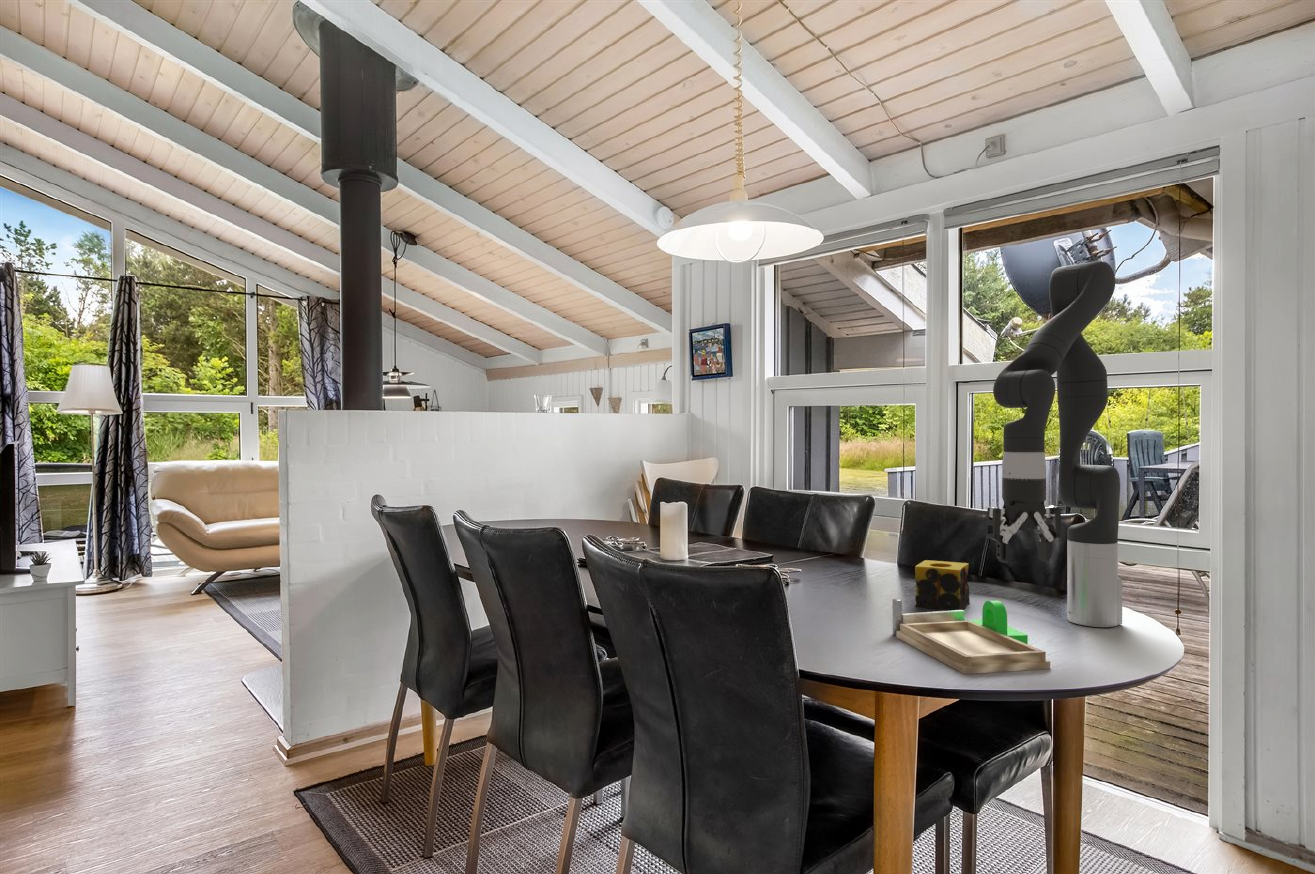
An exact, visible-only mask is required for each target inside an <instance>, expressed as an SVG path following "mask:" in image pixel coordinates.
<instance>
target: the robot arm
mask: <svg viewBox="0 0 1315 874" xmlns="http://www.w3.org/2000/svg"><path fill="white" fill-rule="evenodd" d="M1048 283H1049V284H1048V292H1049V304H1050V312H1051V318H1050V319H1049V320H1048V321H1046V322H1045V323H1044V324H1042V325H1041V326H1040V327H1039V328H1038V329H1037V330H1036V331H1035V332H1034V334H1033V335H1032V336H1031V338H1030V340H1029V341H1028V343H1027V344H1026V346H1025V348H1024V350H1023V352H1022V353H1021V354H1019V355H1018V356H1017V357H1015V358H1014V359H1013V360H1012V362H1010V363H1009V364H1008V365H1007V366H1006V367H1004V369H1003V370H1001V372H999V373H998V376H997V377H996V379H995V380H994V384H993V387H992V393H993V394H992V395H993V399H994V401H995V402H996V403H997V404H998V405H999V406H1001V407H1002V408H1006V409H1021V408H1023V409H1024V408H1026V410H1025V412H1024V415H1022V417H1021V418H1020V419H1019V418H1018V419H1016V420H1011V421H1008V422H1007V423H1006V424H1004V426H1003V434H1002V435H1003V456H1002V462H1001V498H1002V500H1003V505H1002V507H994V506H988V507H987V511H986V512H987V513H986V525H985V526H986V529H985V537H986V538H987V539H990V540H993V541H994V542H995V547H996V548H995V550H996V551H995V555H996V556H995V557H996V559H997V560H998V562H1000V563H1003V564H1008V563H1009V562H1010V543H1009V540H1010V539H1011V538H1012V536H1013V535H1015V534H1016V533H1017V532H1018V531H1025V530H1030V531H1032V532H1034V534H1036V536H1037V537H1038V538H1039V540H1038V544H1037V546H1038V547H1037V549H1038V550H1037V551H1038V552H1037V553H1038V558H1037V559H1038V560H1039V561H1041V562H1050V559H1051V558H1052V542H1053V541H1054V540H1055V539H1060V538H1062V536H1063V533H1062V532H1063V531H1062V516H1061V515H1062V513H1061V511H1062V510H1061V508H1060V507H1059V506H1055V505H1047V506H1045V502H1046V500H1047V460H1046V455H1045V454H1046V452H1045V451H1046V450H1045V449H1046V448H1045V444H1046V443H1045V442H1046V439H1045V431H1046V427H1047V424H1048V423H1047V422H1048V421H1049V416H1050V413H1051V409H1052V405H1053V403H1054V400H1055V395H1057V398H1056V399H1057V408H1058V409H1057V410H1058V421H1059V457H1058V459H1059V462H1058V493H1059V497H1060V501H1061V502H1062V504H1063V505H1064V506H1065V507H1068V508H1075V509H1076V508H1077V509H1090V510H1091V509H1092V510H1097V513H1096V515H1095V517H1093V518H1092V519H1089V520H1088V521H1084V522H1081V523H1076V524H1072V525H1070V526H1068V528H1067V531H1066V532H1067V533H1066V534H1067V540H1066V541H1067V544H1066V546H1067V547H1066V548H1067V549H1066V550H1067V551H1066V553H1067V554H1066V555H1067V560H1066V561H1067V563H1066V564H1067V565H1066V566H1067V567H1066V568H1067V572H1066V573H1067V576H1066V577H1067V582H1066V583H1067V584H1066V585H1067V587H1066V588H1067V602H1066V603H1067V609H1066V611H1067V613H1066V614H1067V621H1069V622H1070V623H1073V624H1076V625H1080V626H1086V627H1094V628H1113V627H1114V628H1115V627H1117V626H1119V625H1123V579H1122V578H1120V577H1119V555H1118V554H1119V543H1118V542H1119V541H1118V540H1119V537H1118V536H1119V516H1120V513H1119V512H1120V510H1119V509H1120V501H1121V499H1120V497H1121V477H1120V473H1119V471H1118V470H1117V469H1116V467H1114V466H1112V465H1101V464H1100V465H1098V464H1081V463H1080V462H1081V461H1080V457H1081V451H1082V447H1083V445H1084V443H1085V441H1086V439H1087V436H1088V435H1089V434H1090V432H1091V430H1092V429H1093V428H1094V426H1095V425H1096V423H1098V420H1099V419H1100V417H1101V416H1102V414H1103V413H1104V411H1105V409H1106V407H1107V405H1108V401H1109V394H1108V393H1109V392H1108V391H1109V389H1108V373H1107V369H1106V366H1105V365H1104V363H1103V362H1102V360H1101V359H1100V357H1099V356H1098V354H1097V353H1096V352H1095V351H1094V350H1093V348H1092V347H1091V345H1089V343H1088V342H1087V340H1086V339H1085V337H1084V336H1083V334H1082V333H1083V332H1084V330H1085V329H1086V328H1087V327H1088V326H1089V324H1091V322H1092V321H1094V320H1095V318H1096V317H1097V315H1099V313H1101V311H1103V309H1104V308H1105V307H1106V306H1107V304H1108V303H1109V302H1110V301H1111V299H1112V298H1113V294H1114V292H1115V289H1116V275H1115V272H1114V269H1113V268H1112V266H1111V264H1109V263H1108V262H1106V261H1103V260H1100V261H1099V260H1096V261H1095V260H1093V261H1089V262H1081V263H1076V264H1069V265H1063V266H1060V267H1056V268H1055V269H1054V270H1053V271H1052V272H1051V274H1050V278H1049V282H1048ZM1055 373H1056V382H1055V380H1054V378H1053V375H1054V374H1055ZM1056 391H1057V392H1056ZM1003 517H1004V519H1003V521H1001V520H1002V518H1003ZM1045 517H1046V522H1045V521H1044V518H1045Z"/></svg>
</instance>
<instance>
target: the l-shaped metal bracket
mask: <svg viewBox="0 0 1315 874" xmlns="http://www.w3.org/2000/svg"><path fill="white" fill-rule="evenodd" d="M965 613H966V611H965V609H964V610H951V611H944V610H938V611H937V610H936V611H926V612H925V611H924V612H909V613H903V599H901V598H893V599H892V636H895V637H896V631H900V624H910V623H929V622H948V621H966V620H965V619H966V615H965Z"/></svg>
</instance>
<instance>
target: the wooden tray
mask: <svg viewBox="0 0 1315 874" xmlns="http://www.w3.org/2000/svg"><path fill="white" fill-rule="evenodd" d="M966 620H967V621H966ZM966 620H965V621H948V622H929V623H910V624H900V631H896V636H895V637H896V638H898V639H899V640H901V641H903V642H904V643H907V644H908V645H910V646H912V647H914V648H915V649H918V650H919V651H921V652H923V653H925V654H927V655H929V656H930V657H931V658H934V659H936V660H937V661H940V662H942V663H944V664H945V665H946V666H949V667H950V668H953V670H954V669H955V670H956V671H958V672H960V673H962V674H964V675H971V674H972V675H974V674H975V675H976V674H988V673H989V674H990V673H1002V672H1019V671H1034V670H1036V671H1037V670H1049V669H1051V661H1050V660H1049V659H1046V658H1047V657H1046V653H1047V652H1046V651H1044V650H1042V649H1039V648H1037V647H1034V646H1033V645H1030V644H1025V643H1023V642H1020V641H1018V640H1016V639H1013V638H1011V637H1008V636H1006V635H1004V634H1001V633H999V632H996V631H994V630H991V629H989V628H987V627H984V626H982V625H979V624H977V623H975V622H972V621H970V620H971V619H966Z"/></svg>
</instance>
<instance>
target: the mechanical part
mask: <svg viewBox="0 0 1315 874" xmlns="http://www.w3.org/2000/svg"><path fill="white" fill-rule="evenodd" d="M981 613H982V619H969V620H970V621H972V622H975V623H977V624H979V625H982V626H984V627H987V628H989V629H991V630H994V631H996V632H999V633H1001V634H1004V635H1006V636H1008V637H1011V638H1013V639H1016V640H1018V641H1020V642H1023V643H1025V644H1028V643H1029V642H1028V641H1029V638H1028V637H1029V635H1028V634H1026V633H1024V632H1021V630H1020V631H1019V630H1018V629H1016V628H1014V627H1012V626H1009V625H1008V614H1007V613H1008V612H1007V610H1006V607H1005V605H1004V603H1003V602H1002V601H1000V600H986V601H985V602H984V603H983V606H982V609H981ZM967 620H968V619H966V620H965V621H967ZM1028 645H1029V644H1028Z"/></svg>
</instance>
